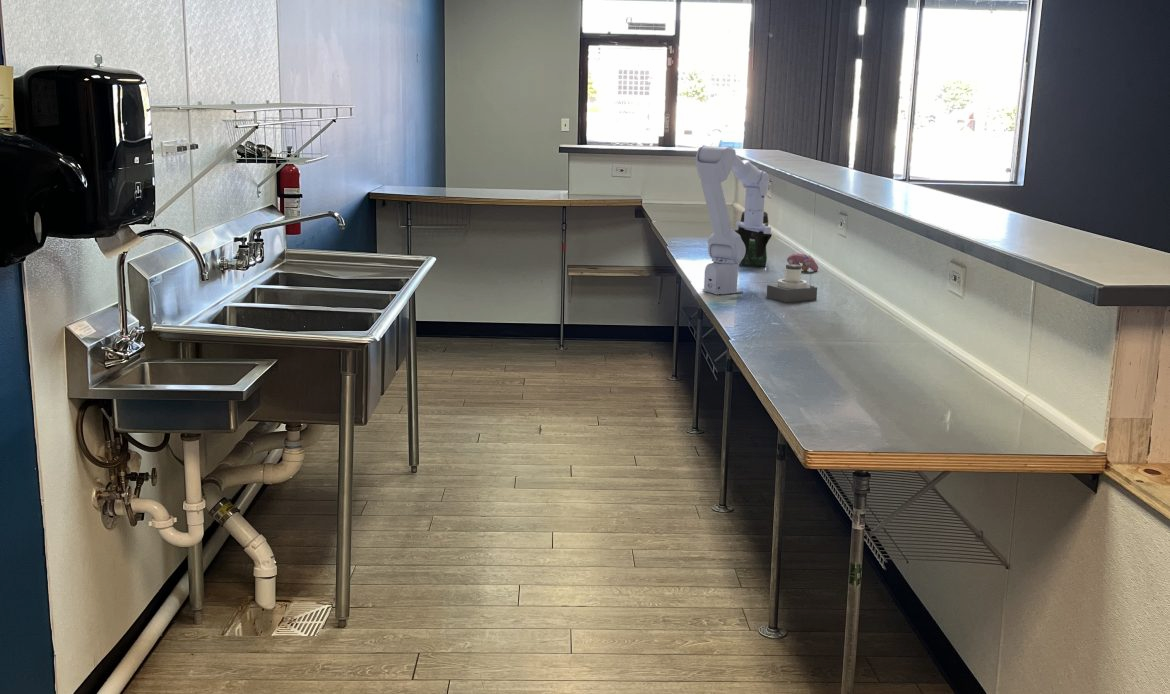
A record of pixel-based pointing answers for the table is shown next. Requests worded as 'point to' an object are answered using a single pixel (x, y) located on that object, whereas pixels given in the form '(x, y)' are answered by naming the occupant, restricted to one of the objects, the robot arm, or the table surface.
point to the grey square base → (791, 291)
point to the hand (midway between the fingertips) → (751, 254)
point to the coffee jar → (754, 249)
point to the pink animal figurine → (803, 261)
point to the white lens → (793, 273)
